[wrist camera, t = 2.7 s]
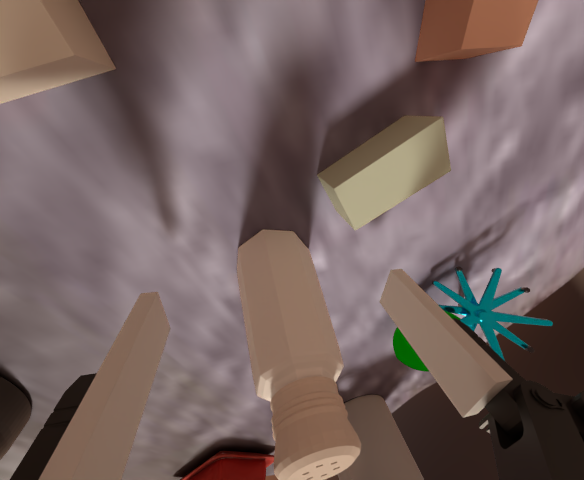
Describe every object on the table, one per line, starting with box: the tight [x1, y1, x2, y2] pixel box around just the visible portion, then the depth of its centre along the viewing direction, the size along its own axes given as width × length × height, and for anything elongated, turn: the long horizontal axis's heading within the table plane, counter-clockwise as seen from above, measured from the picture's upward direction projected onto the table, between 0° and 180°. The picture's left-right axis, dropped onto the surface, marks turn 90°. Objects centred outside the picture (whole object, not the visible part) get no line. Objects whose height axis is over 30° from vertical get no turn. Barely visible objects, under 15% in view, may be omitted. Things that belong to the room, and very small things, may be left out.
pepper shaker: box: [237, 229, 361, 480], centre depth 11 cm, size 5×5×11 cm
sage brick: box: [317, 115, 451, 230], centre depth 13 cm, size 6×3×3 cm, turn 121°
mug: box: [338, 395, 424, 480], centre depth 28 cm, size 12×8×11 cm
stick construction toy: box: [393, 267, 553, 371], centre depth 21 cm, size 12×7×8 cm
